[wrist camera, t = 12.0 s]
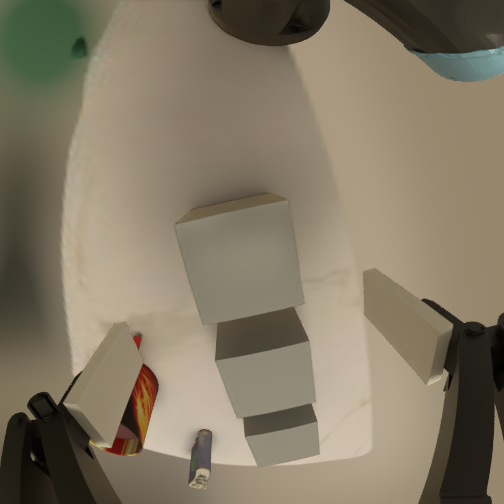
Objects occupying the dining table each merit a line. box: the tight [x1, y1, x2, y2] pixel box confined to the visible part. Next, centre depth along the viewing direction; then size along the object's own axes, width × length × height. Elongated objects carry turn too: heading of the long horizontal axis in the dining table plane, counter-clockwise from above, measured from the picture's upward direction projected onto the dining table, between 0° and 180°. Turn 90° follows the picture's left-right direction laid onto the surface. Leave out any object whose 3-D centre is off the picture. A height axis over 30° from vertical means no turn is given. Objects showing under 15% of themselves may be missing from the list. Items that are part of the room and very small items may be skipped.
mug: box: [89, 336, 159, 456], centre depth 30 cm, size 10×14×12 cm
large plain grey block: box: [243, 403, 320, 467], centre depth 34 cm, size 9×9×10 cm
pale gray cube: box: [215, 307, 316, 418], centre depth 31 cm, size 9×9×10 cm
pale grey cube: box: [174, 193, 304, 325], centre depth 27 cm, size 9×9×10 cm
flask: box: [188, 429, 212, 489], centre depth 36 cm, size 9×3×11 cm, turn 161°
